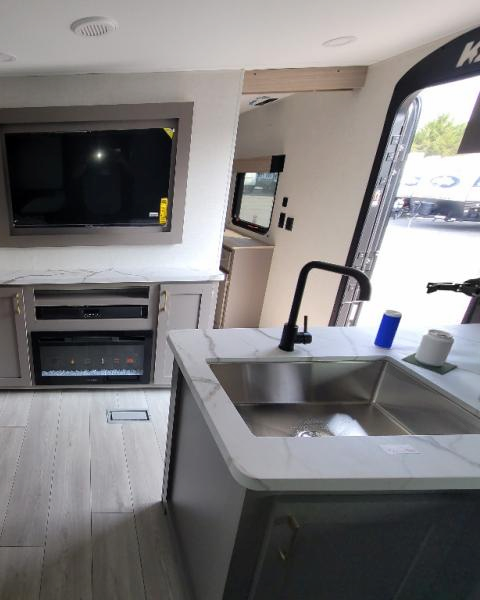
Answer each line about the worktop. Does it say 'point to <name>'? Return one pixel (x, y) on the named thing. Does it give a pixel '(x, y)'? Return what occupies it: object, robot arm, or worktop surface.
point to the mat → (439, 369)
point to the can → (434, 347)
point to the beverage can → (387, 329)
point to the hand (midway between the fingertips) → (453, 295)
